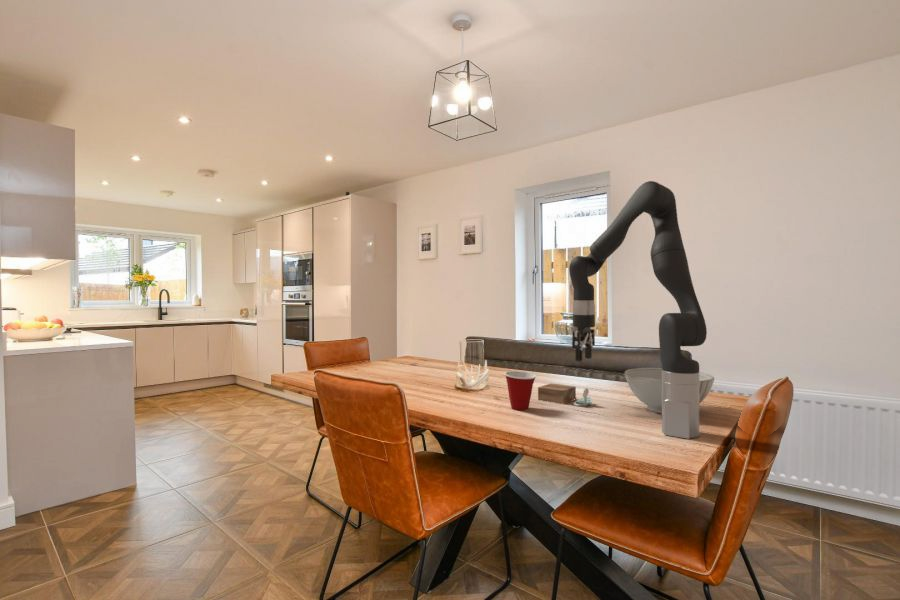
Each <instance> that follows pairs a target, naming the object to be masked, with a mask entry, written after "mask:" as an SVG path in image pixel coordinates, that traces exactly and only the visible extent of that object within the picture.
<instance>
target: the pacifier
mask: <svg viewBox="0 0 900 600" xmlns="http://www.w3.org/2000/svg"><path fill="white" fill-rule="evenodd" d="M589 393H590V391H589V389H588V387H585V388H584V390H583V393H582V397H581V398H579V399H577V400H576V401H574V402H572V404H573V406H577V407H587V406H589V405H590V404H592V402H593V398H592V397H590V396H588V395H589Z"/></svg>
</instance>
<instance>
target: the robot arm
mask: <svg viewBox="0 0 900 600" xmlns="http://www.w3.org/2000/svg"><path fill="white" fill-rule="evenodd" d="M643 213H646V214H648V215H649V216H650V218H651V220H652V223H653V227H654V237H653V238H654V239H653V242H652V244H651V247H650V248H651V249H650V260H651V265H652V270H653V273H654V276H655V277H656V279H657V280H658V282H659V283H660V284H661V285H662V287H664V288H665V289H666V290H667V291H668V293H670V295H671V296H672V297H673V299H674V300H675V301H676V304H677V306H678V309H679V311H680V312H668V313H664V314H663V315H662V316H661V318H660V320H659V323H658V343H659V358H660V363H661V368H662V413H661V431H662V433H663V434H664V435H665V436H670V437H677V438H683V439H688V440H689V439H693V438H698V437H699V436H700V404H699V372H700V363H699V362H698V361H697V360H695V359H693V358H689V357H687V356H685V355H684V354H683V353H682V348H681V347H698V346H699V347H700V346H702V345H704V343H705V341H706V340H707V335H708V334H707V333H708V331H707V329H708V328H707V324H706V320H705V317H704V314H703V311H702V308H701V306H700V303H699V301H698V298H697V295H696V292H695V288H694V284H693V280H692V277H691V272H690V267H689V262H688V257H687V254H686V249H685V246H684V243H683V239H682V234H681V231H680V226H679V225H680V224H679V221H678V209H677V202H676V197H675V194H674V192H673V191H672V189H670V188H668V187H666V186H665V185H663V184H661V183H659V182H657V181H654V180H649V181H646V182H644V183H642V184H641V185H640V186H638V187H637V189H636V190H635V191H634V193H632V195H631V197H630V198H629V199H628V200H627V202H626V203H625V205H624V206H623V208H622V209H621V210H620V211H619V213H618V214H617V216H616V217H615V219H614V220H613V221H612V222H611V223H610V225H609V226H608V227H607V228H606V229H605V230H604V231H603V233H601V234H600V235H599V236H598V237H597V238H596V239H595V240H594V242H592V244H591V245H590V246H589V251H590V252H589V254H588V255H586V256H583V255H582V256H581V255H579V256H575V257H573V258H572V260H571V261H570V262H569V268H568V269H569V270H568V271H569V277H570V281H571V284H572V288H573V294H572V295H573V303H572V327H573V328H576V330H572V340H571V341H572V343H571V345H572V346H571V347H572V349H573V350H575V361H576V362H582V361H583V349H584V354H585V355H584V358H585V359H589V360H590V359H592V358H593V354H592V353H593V348H594V346H595V345H596V343H595V342H596V340H595V335H596V334H595V329H594V327H595V326H596V305H595V287H594V285H593V284H592V283H591V282H589V277H592V276H594V275H597V273H598V272H599V271H600V270H601V268H602V266H603V265H604V264H605V263H606V261H607V259H608V258H610V256H611V255H612V254H614V253H615V252H616V250H617V249H619V248H620V247H621V245H622V244H623V242H624V241H625V239H626V236H627V233H628V232H629V230H630V227H631V226H632V224H633V222H635V220H636V219H638V217H639V216H641V215H642V214H643ZM592 328H593V329H592Z"/></svg>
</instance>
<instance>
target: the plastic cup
mask: <svg viewBox="0 0 900 600" xmlns="http://www.w3.org/2000/svg"><path fill="white" fill-rule="evenodd" d="M504 375H505V379H506V384H507V391H508V397H509V402H510V408H511V409H512V410H516V411H527V410H528V409H529V407H530V403H531V399H532V391H533V386H534V382H535V380H536V378H537V374H534V373H531V372H528V371H527V372H526V371H521V370H520V371H518V370H509V371H505V372H504Z"/></svg>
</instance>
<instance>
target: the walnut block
mask: <svg viewBox="0 0 900 600" xmlns="http://www.w3.org/2000/svg"><path fill="white" fill-rule="evenodd" d="M576 387H577V386H574V385H566V384H558V383H548V384H544V385H541V386H538V387H537V400H538V401H541V400H542V401H541V402H547V401H548V403H553V402H554V403H555V404H558V405H564V403H565V404H567V402H568V403H570V402H572V400H573V401H575V400H576V399H577V397H576V396H577V394H576V392H577V391H576V390H577V389H576ZM574 399H575V400H574Z"/></svg>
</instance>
